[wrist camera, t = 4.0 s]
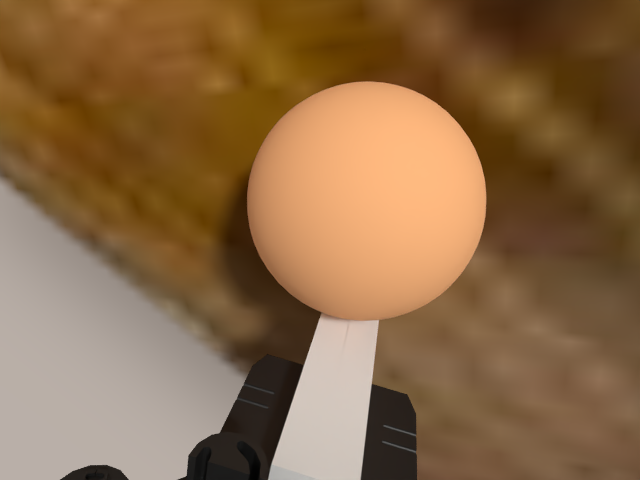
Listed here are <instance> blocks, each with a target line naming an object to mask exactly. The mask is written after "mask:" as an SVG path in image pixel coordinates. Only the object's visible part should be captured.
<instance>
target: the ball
mask: <svg viewBox="0 0 640 480" xmlns="http://www.w3.org/2000/svg"><path fill="white" fill-rule="evenodd" d="M247 212H248V220H249V227H250V231H251V234H252V238H253V241H254V244H255V246H256V249H257V251H258V253H259V256H260V257H261V259H262V261H263V262H264V264H265V266H266V267H267V269H268V270H269V272H270V273H271V274H272V275H273V277H274V278H275V279H276V280H277V282H278V283H279V284H280V285H281V286H282V287H283V288H285V289H286V290H287V291H288V292H289V293H290V294H291V295H292V296H294V297H295V298H297V299H298V300H299V301H301V302H302V303H304V304H306V305H308V306H309V307H311V308H313V309H315V310H317V311H320V312H322V313H325V314H328V315H330V316H334V317H339V318H343V319H349V320H359V321H369V320H381V319H387V318H393V317H396V316H400V315H403V314H406V313H409V312H411V311H413V310H416V309H418V308H420V307H422V306H424V305H426V304H427V303H429V302H431V301H432V300H434V299H435V298H437V297H438V296H439V295H441V294H442V293H443V292H444V291H445V290H446V289H448V288H449V287H450V286H451V285H452V284H453V283H454V281H455V280H456V279H457V278H458V277H459V276H460V275H461V273H462V272H463V270H464V269H465V267H466V266H467V264H468V263H469V261H470V260H471V258H472V256H473V254H474V252H475V250H476V247H477V245H478V243H479V240H480V237H481V234H482V231H483V226H484V221H485V215H486V188H485V179H484V174H483V170H482V166H481V163H480V160H479V158H478V155H477V153H476V150H475V148H474V147H473V145H472V143H471V141H470V139H469V137H468V136H467V135H466V133H465V132H464V131H463V129H462V128H461V127H460V125H459V124H458V123H457V122H456V121H455V120H454V118H453V117H452V116H451V115H450V114H449V113H448V112H447V111H445V110H444V109H443V108H442V107H440V106H439V105H438V104H437V103H435V102H433V101H432V100H430V99H429V98H427V97H425V96H424V95H422V94H419V93H417V92H415V91H413V90H411V89H407V88H404V87H401V86H398V85H393V84H388V83H383V82H353V83H348V84H342V85H338V86H335V87H331V88H328V89H325V90H323V91H321V92H319V93H316V94H314V95H312V96H310V97H309V98H307V99H305V100H304V101H302V102H300V103H299V104H297V105H296V106H295V107H294V108H292V109H291V110H290V111H288V112H287V113H286V114H285V115H284V116H283V117H282V118H281V119H280V120H279V121H278V122H277V123H276V125H275V126H274V127H273V129H272V130H271V131H270V132H269V134H268V135H267V137H266V139H265V140H264V142H263V144H262V146H261V147H260V149H259V151H258V154H257V156H256V159H255V161H254V163H253V166H252V170H251V174H250V178H249V184H248V192H247Z"/></svg>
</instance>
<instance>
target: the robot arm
mask: <svg viewBox="0 0 640 480" xmlns="http://www.w3.org/2000/svg"><path fill="white" fill-rule="evenodd" d="M378 323H379V320H369V321H359V320H349V319H343V318H339V317H334V316H330V315H328V314H325V313H321V316H320V319H319V322H318V325H317V328H316V331H315V334H314V337H313V340H312V343H311V346H310V349H309V352H308V355H307V358H306V361H305V364H304V365H302V364H298V363H295V362H291V361H288V360H285V359H281V358H278V357H275V356H271V355H268V354H267V355H266V356H265V357H263V358H262V359H261V360H260V361H258V362H257V363H256V364H255V365H253V366H252V368H251V370H250V372H249V374H248V376H247V378H246V380H245V382H244V386H243V387H242V389H241V391H240V393H239V395H238V397H237V400H236V401H235V403H234V405H233V407H232V409H231V411H230V413H229V415H228V417H227V419H226V421H225V423H224V426H223V427H222V430H221V432H220V433H219V434H214V435H211V436H209V437H207V438H206V439H204V440H202V441H201V442H199V443H198V444H197V445H196V447H195V448H194V449H193V450H192V452H191V453H190V454H189V458H188V469H187V476H186V477H184V478H181V479H178V480H417V455H416V413H415V411H414V408H413V406H412V404H411V402H410V400H409V397H408V395H407V394H404V393H400V392H397V391H394V390H390V389H387V388H383V387H380V386H377V385H373V384H372V375H373V367H374V358H375V349H376V340H377V332H378ZM60 480H128V478H127V477H126V476H125V475H124V474H123V473H122V472H121V470H118V469H116V468H113V467H110V466H108V465H90V466H87V467H84V468H81V469H78V470H75V471H72V472H71V473H69V474H68V475H66V476H65V477H63V478H62V479H60Z"/></svg>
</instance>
